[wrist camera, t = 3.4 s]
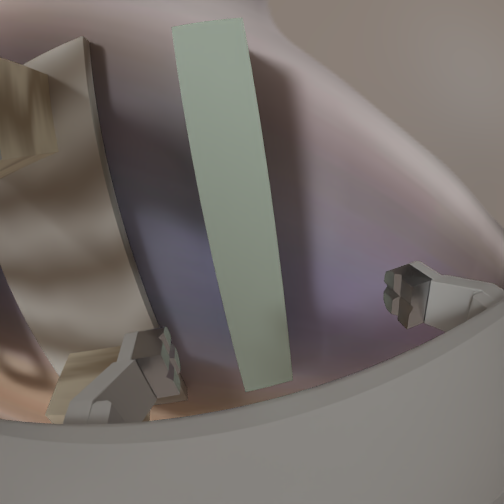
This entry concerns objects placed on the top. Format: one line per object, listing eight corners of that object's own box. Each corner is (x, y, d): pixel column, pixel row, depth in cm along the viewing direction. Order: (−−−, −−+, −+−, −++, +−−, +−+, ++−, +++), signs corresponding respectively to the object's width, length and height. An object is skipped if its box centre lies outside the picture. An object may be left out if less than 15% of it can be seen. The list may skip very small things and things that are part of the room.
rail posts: (-25, 103, 13) (-131, 106, 1) (89, 41, 15) (0, -34, 3) (87, 401, 26) (67, 500, 14) (187, 389, 27) (195, 504, 15)
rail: (175, 51, 17) (171, 27, 12) (231, 43, 17) (242, 17, 13) (236, 354, 27) (245, 392, 22) (277, 344, 27) (292, 380, 23)
